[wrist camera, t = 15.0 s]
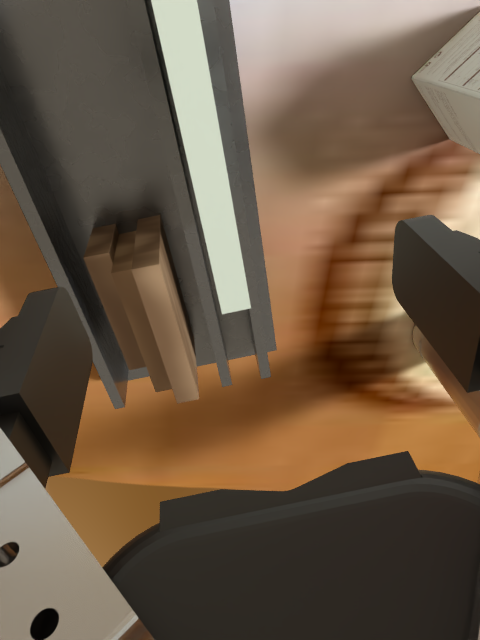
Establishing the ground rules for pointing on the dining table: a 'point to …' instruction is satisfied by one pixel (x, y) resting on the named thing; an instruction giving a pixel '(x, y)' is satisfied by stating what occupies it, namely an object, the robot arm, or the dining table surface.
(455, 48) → the supplement box
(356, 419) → the dining table surface
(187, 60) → the tall sheet
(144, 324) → the offcut bundle
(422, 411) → the dining table surface
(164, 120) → the rack
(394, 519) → the robot arm
